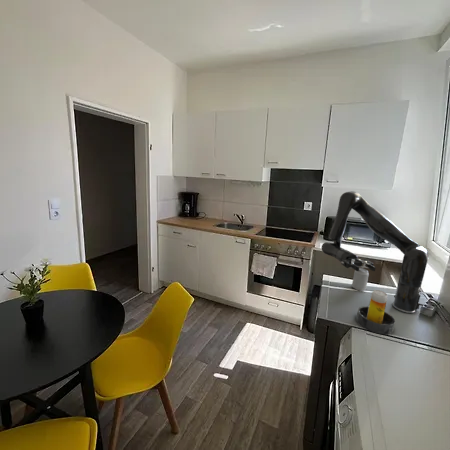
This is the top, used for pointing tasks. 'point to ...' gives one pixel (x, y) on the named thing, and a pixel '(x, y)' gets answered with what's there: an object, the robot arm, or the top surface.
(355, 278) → the can
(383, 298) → the beer can
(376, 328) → the dark grey bowl
